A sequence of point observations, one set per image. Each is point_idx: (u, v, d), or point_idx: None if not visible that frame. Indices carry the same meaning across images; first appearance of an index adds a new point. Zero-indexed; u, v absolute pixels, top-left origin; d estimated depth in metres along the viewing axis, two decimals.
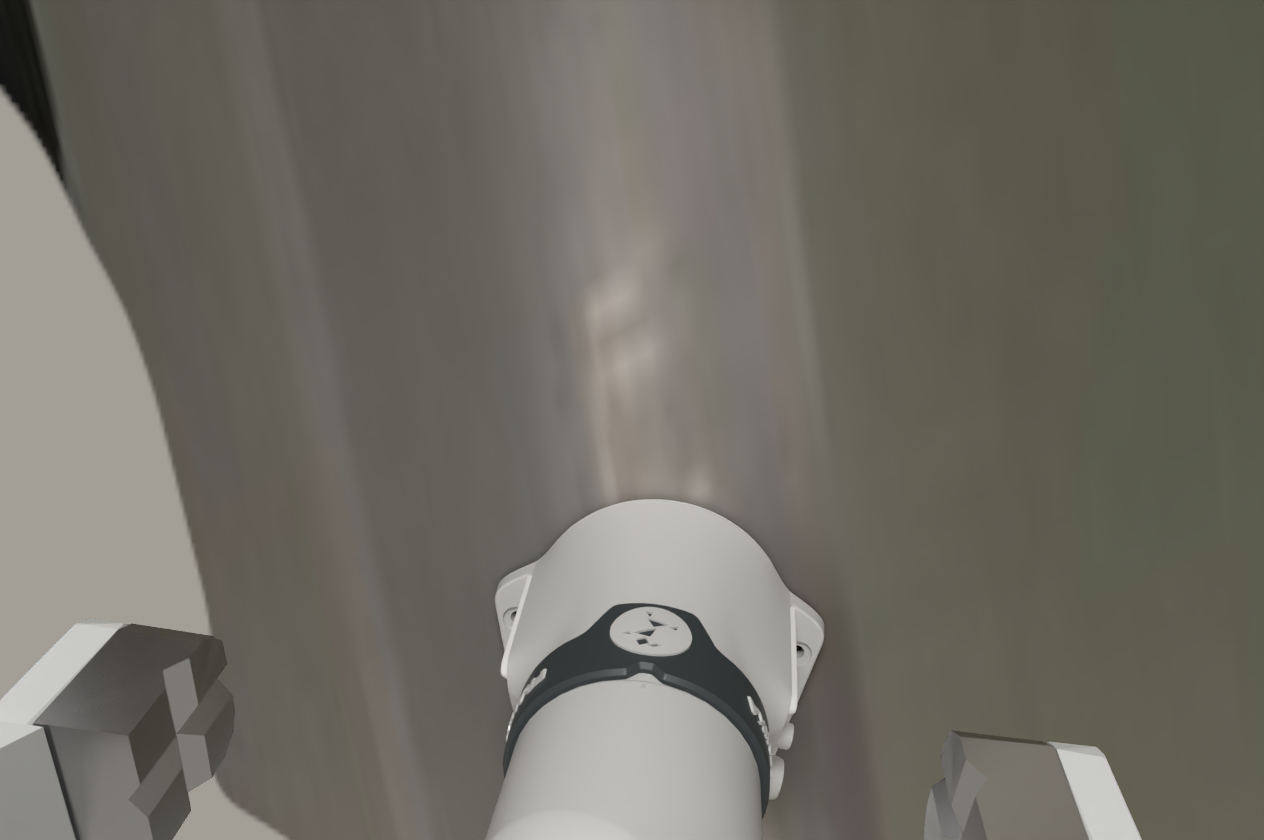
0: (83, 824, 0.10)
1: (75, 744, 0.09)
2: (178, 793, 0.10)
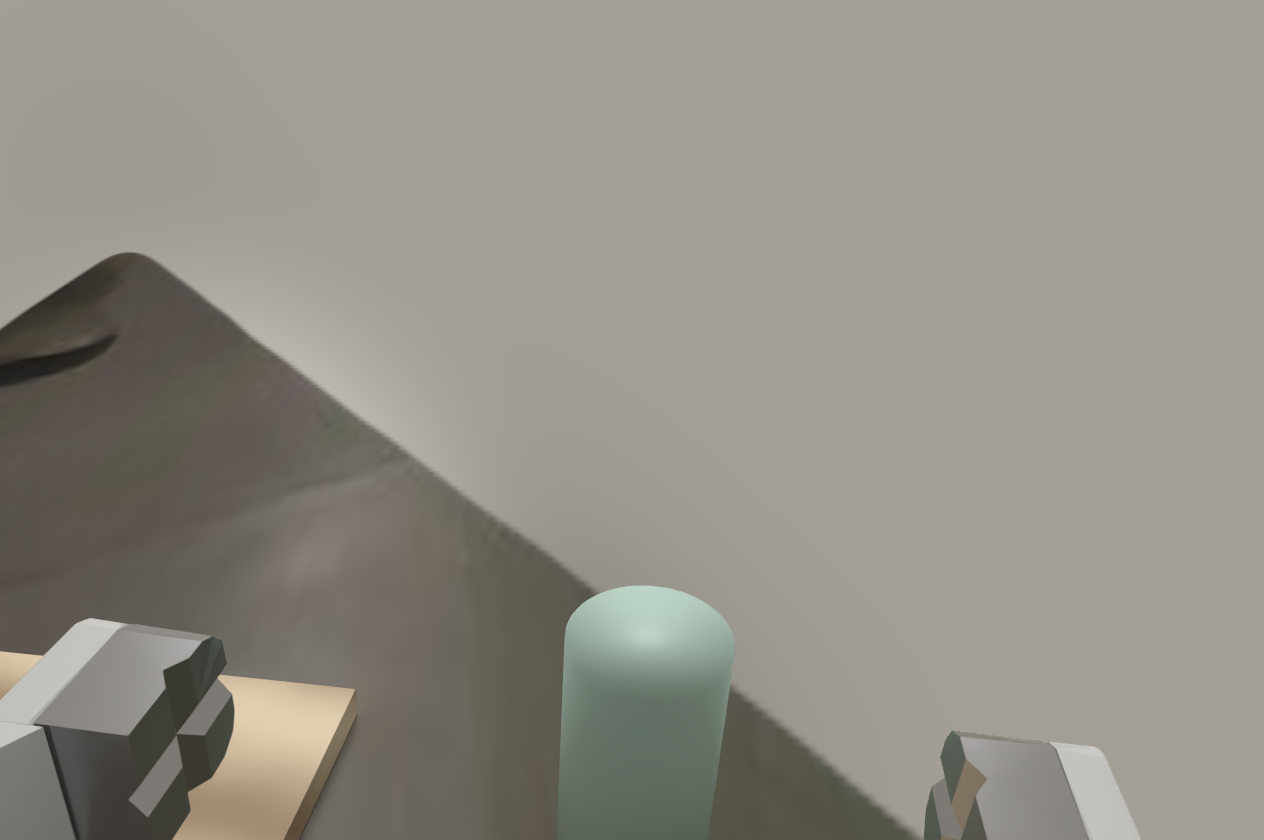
0: (83, 824, 0.10)
1: (75, 744, 0.09)
2: (176, 794, 0.10)
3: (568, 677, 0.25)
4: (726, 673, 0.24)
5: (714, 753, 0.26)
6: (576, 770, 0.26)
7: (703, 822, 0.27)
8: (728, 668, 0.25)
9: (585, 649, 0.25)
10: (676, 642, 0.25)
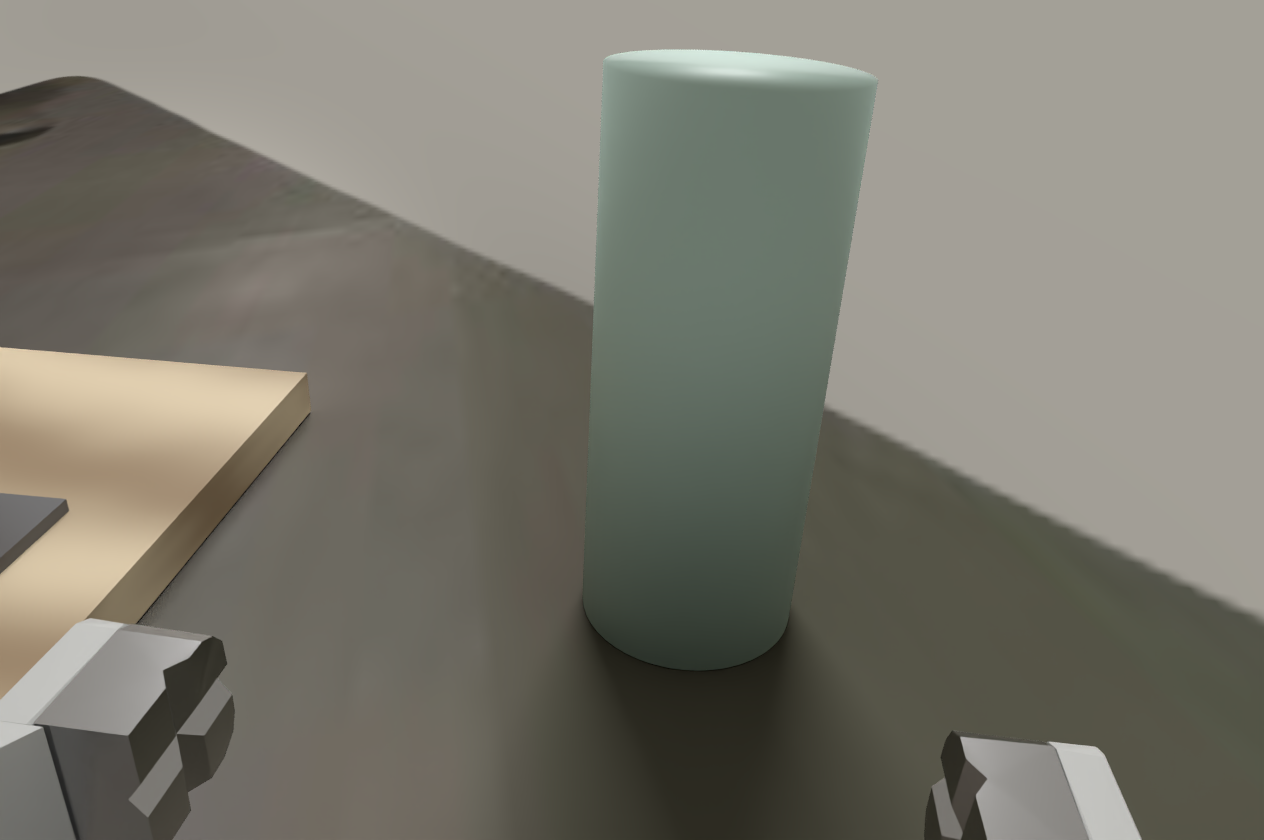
0: (83, 824, 0.10)
1: (75, 744, 0.09)
2: (177, 793, 0.10)
3: (610, 116, 0.15)
4: (870, 92, 0.15)
5: (841, 262, 0.16)
6: (622, 290, 0.16)
7: (817, 400, 0.17)
8: (872, 86, 0.15)
9: (638, 67, 0.15)
10: (782, 72, 0.16)
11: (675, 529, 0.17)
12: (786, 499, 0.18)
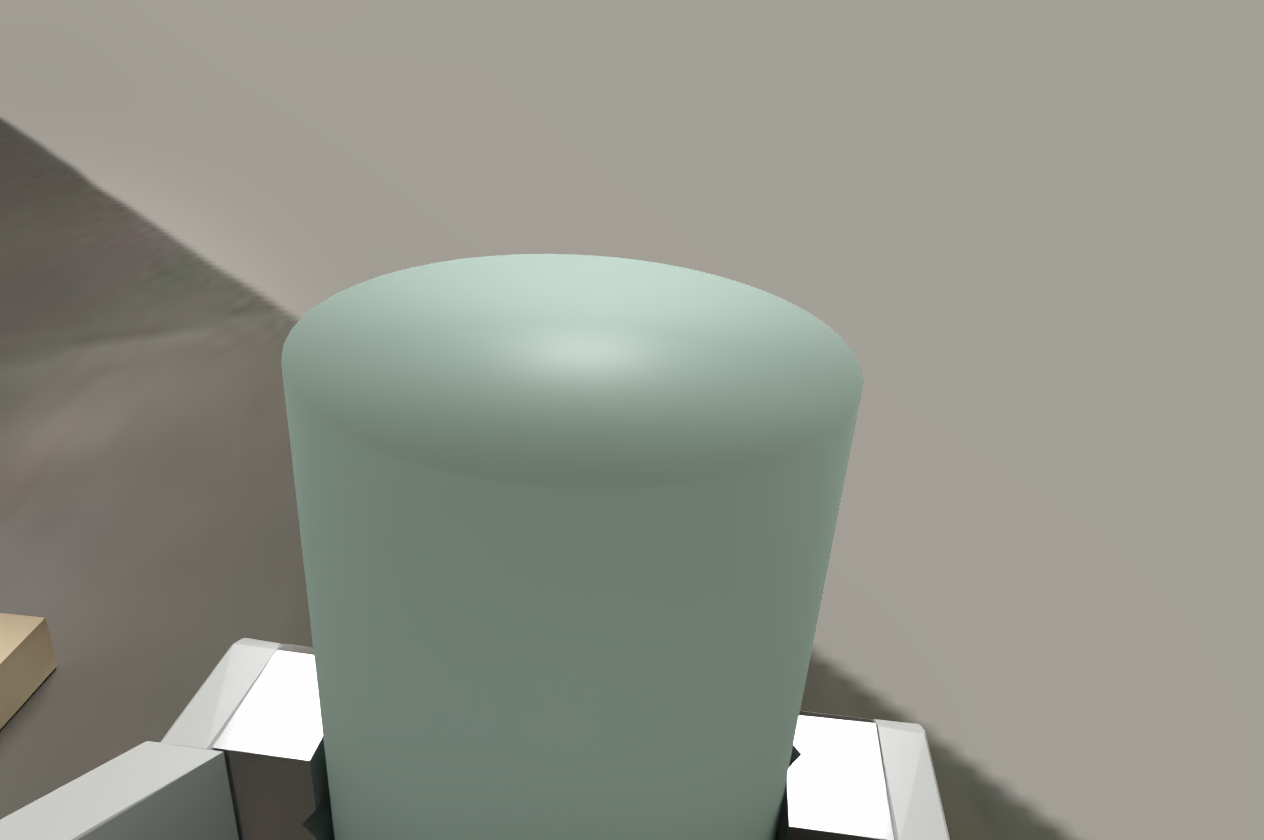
0: None
1: (253, 768, 0.09)
2: None
3: (292, 459, 0.07)
4: (845, 430, 0.07)
5: (788, 723, 0.08)
6: (343, 778, 0.08)
7: None
8: (851, 415, 0.07)
9: (347, 358, 0.07)
10: (665, 352, 0.08)
11: None
12: None
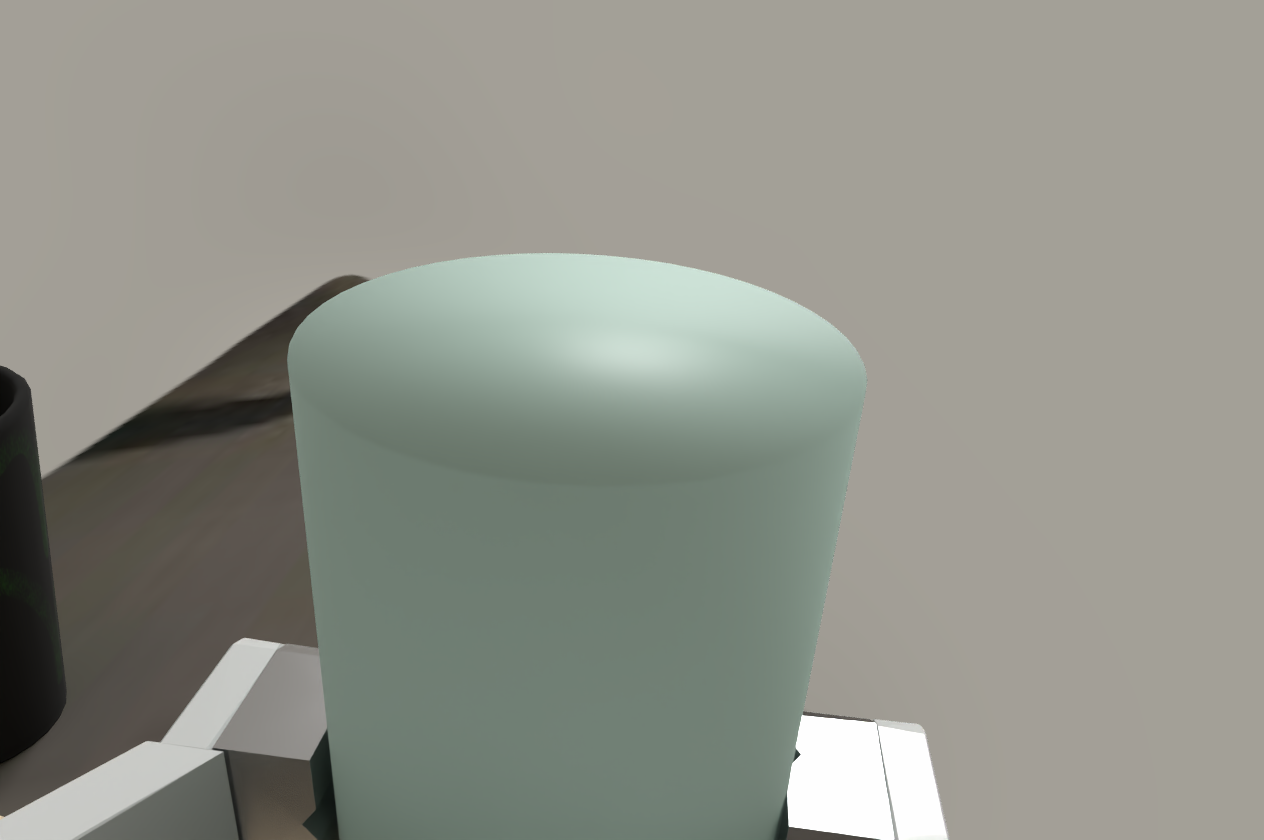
0: None
1: (253, 768, 0.09)
2: None
3: None
4: (849, 429, 0.07)
5: (792, 721, 0.08)
6: (348, 776, 0.08)
7: None
8: (855, 413, 0.07)
9: (353, 357, 0.07)
10: (670, 350, 0.08)
11: None
12: None
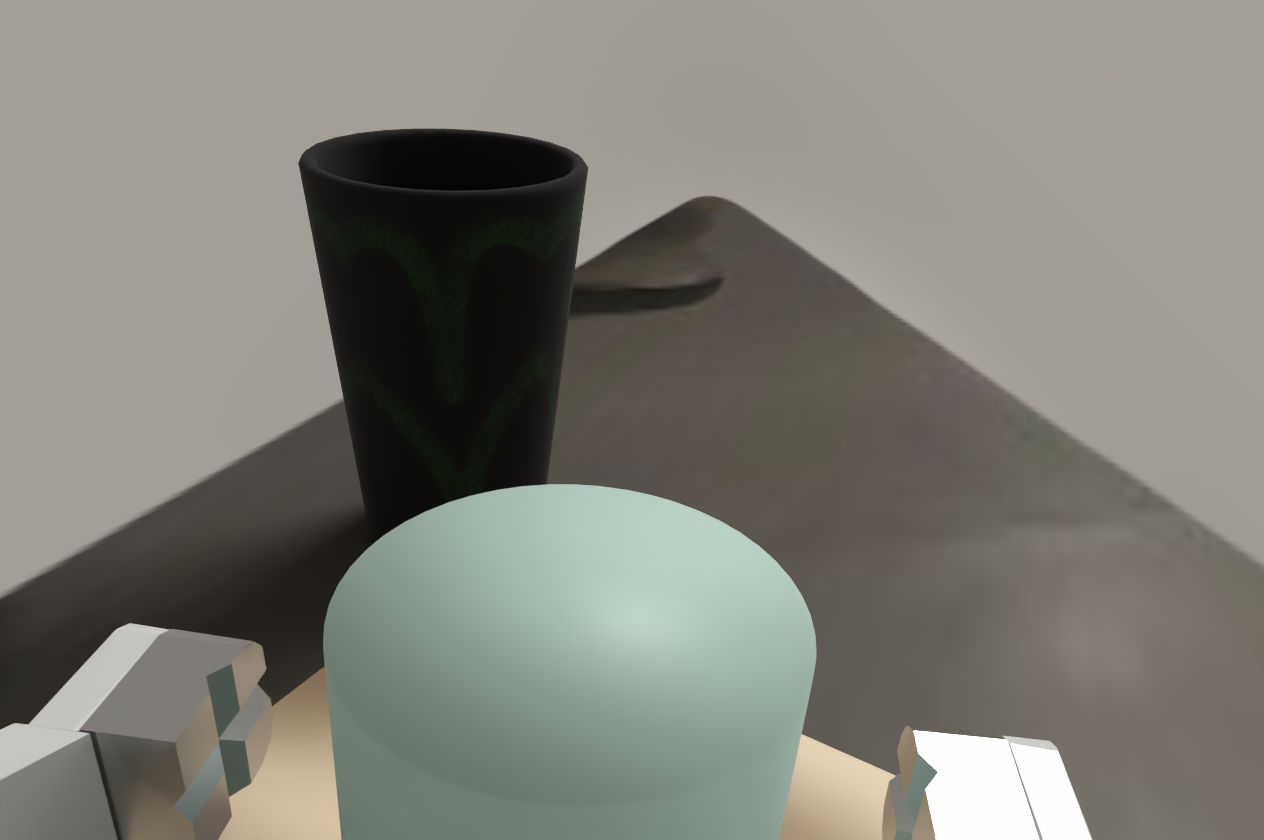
0: (126, 830, 0.10)
1: (121, 750, 0.09)
2: (219, 799, 0.10)
3: (330, 723, 0.08)
4: (798, 715, 0.08)
5: None
6: None
7: None
8: (803, 700, 0.08)
9: (378, 641, 0.08)
10: (650, 621, 0.09)
11: None
12: None
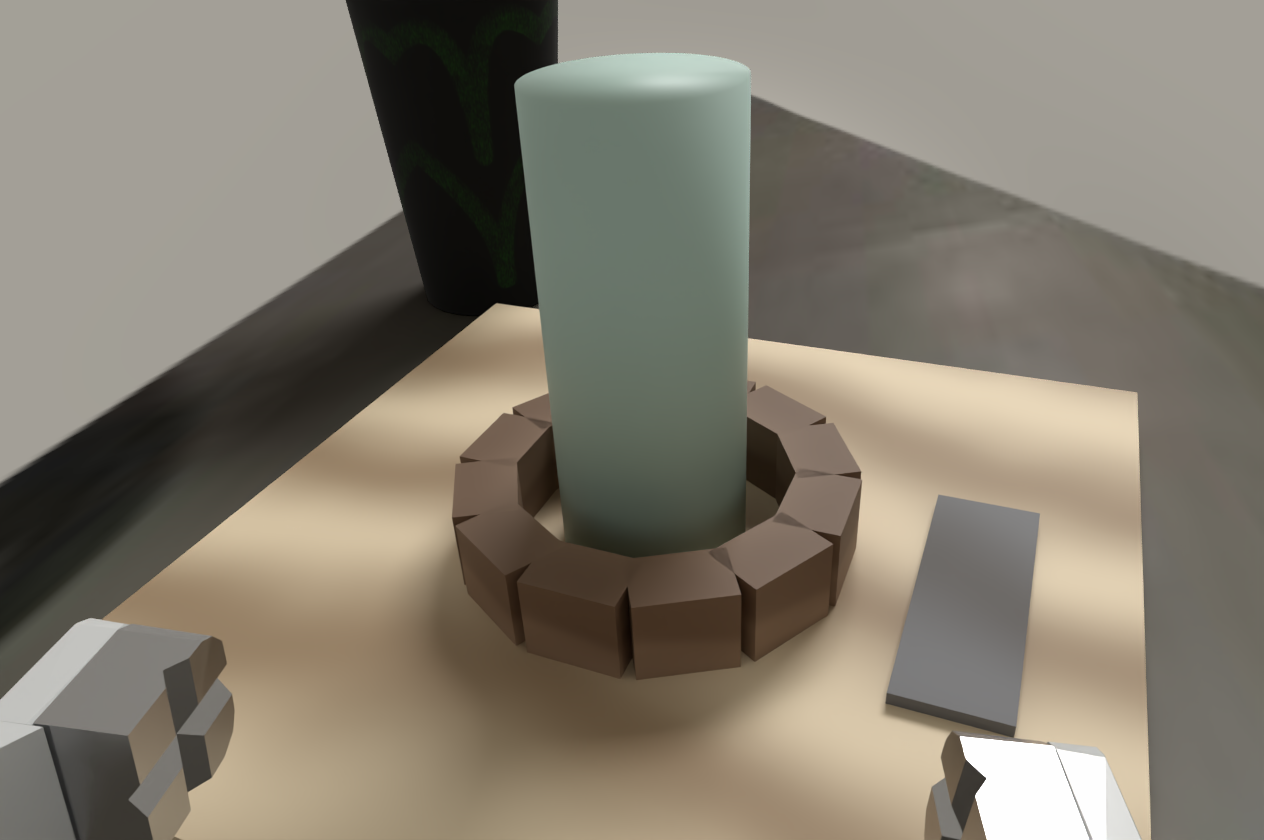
0: (83, 824, 0.10)
1: (75, 744, 0.09)
2: (176, 794, 0.10)
3: (528, 136, 0.18)
4: (745, 86, 0.18)
5: (743, 231, 0.19)
6: (560, 282, 0.19)
7: (740, 349, 0.20)
8: (746, 81, 0.18)
9: (545, 90, 0.18)
10: (669, 74, 0.18)
11: (637, 475, 0.20)
12: (727, 436, 0.21)
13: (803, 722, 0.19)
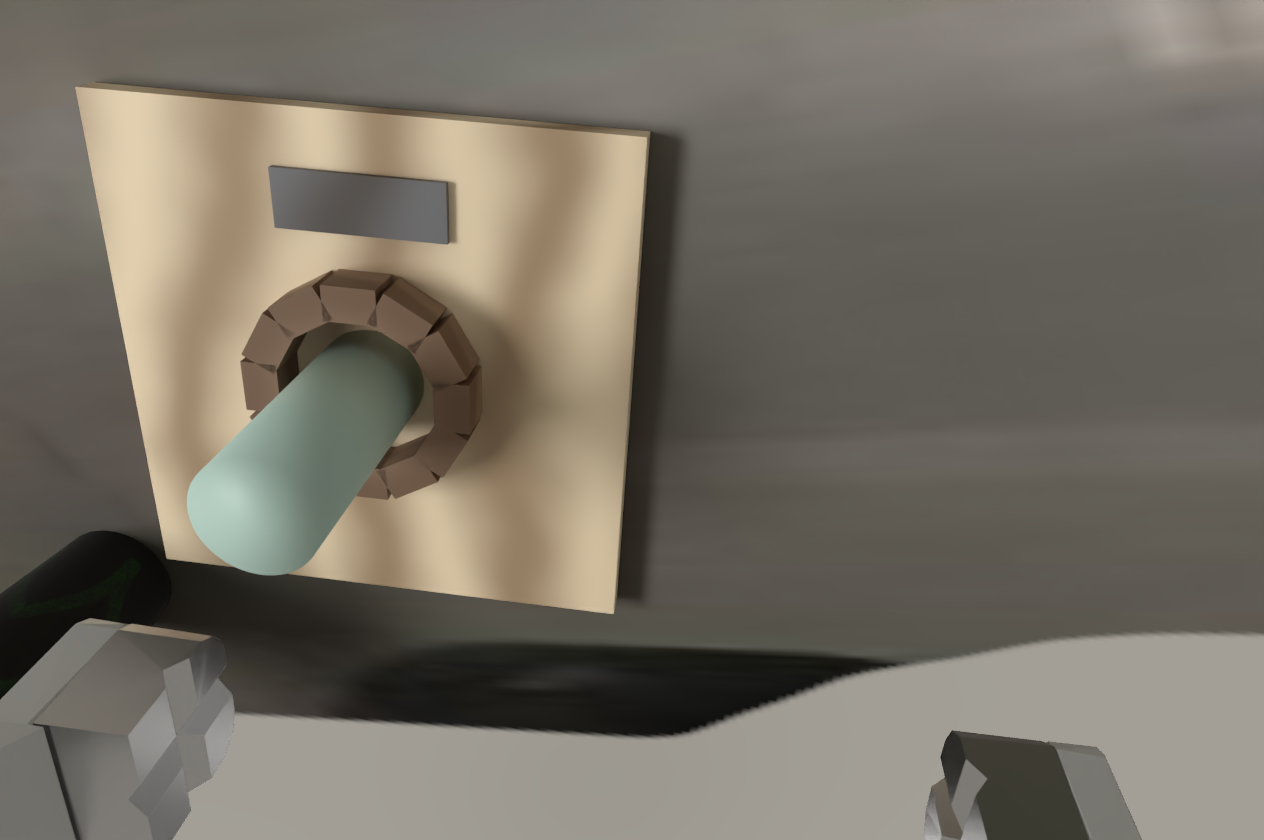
0: (83, 824, 0.10)
1: (75, 744, 0.09)
2: (177, 793, 0.10)
3: (319, 547, 0.32)
4: (246, 457, 0.30)
5: (286, 418, 0.33)
6: (356, 492, 0.34)
7: (319, 386, 0.35)
8: (242, 458, 0.30)
9: (297, 553, 0.32)
10: (243, 500, 0.31)
11: (395, 405, 0.38)
12: (352, 371, 0.37)
13: (475, 278, 0.38)
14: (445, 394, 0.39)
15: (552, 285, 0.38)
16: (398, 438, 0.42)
